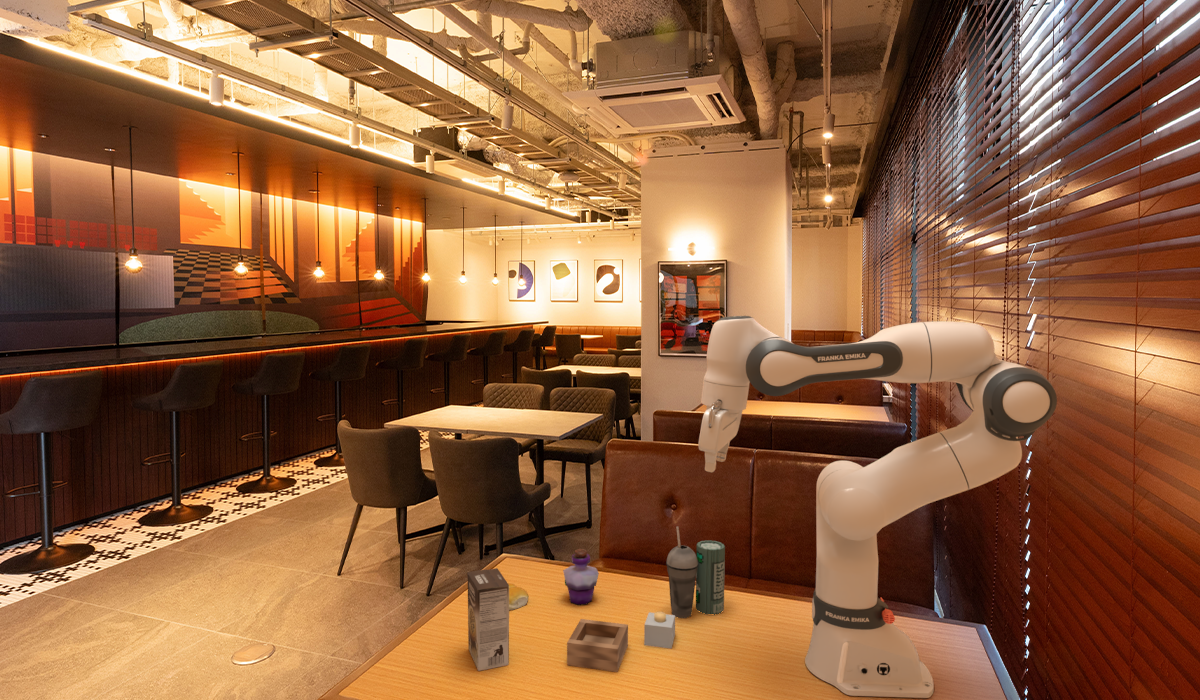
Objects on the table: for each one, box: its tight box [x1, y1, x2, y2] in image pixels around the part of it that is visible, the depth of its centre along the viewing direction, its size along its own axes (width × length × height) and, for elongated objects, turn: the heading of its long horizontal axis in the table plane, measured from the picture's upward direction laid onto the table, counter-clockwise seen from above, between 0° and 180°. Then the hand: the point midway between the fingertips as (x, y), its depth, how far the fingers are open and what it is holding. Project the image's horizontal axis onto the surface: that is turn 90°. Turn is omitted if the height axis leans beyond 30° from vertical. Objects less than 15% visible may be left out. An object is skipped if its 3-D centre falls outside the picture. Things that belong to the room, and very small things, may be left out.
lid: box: [643, 611, 676, 649], centre depth 137 cm, size 6×6×6 cm
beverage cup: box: [665, 526, 698, 619], centre depth 148 cm, size 7×7×20 cm
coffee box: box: [466, 567, 510, 672], centre depth 129 cm, size 9×6×16 cm
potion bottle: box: [562, 548, 599, 606], centre depth 155 cm, size 9×9×12 cm
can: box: [695, 539, 726, 616], centre depth 151 cm, size 6×6×15 cm
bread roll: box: [507, 582, 529, 611], centre depth 154 cm, size 8×9×4 cm
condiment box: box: [566, 618, 629, 673], centre depth 131 cm, size 10×10×4 cm
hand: (715, 465), depth 130 cm, fingers open, 8 cm apart
